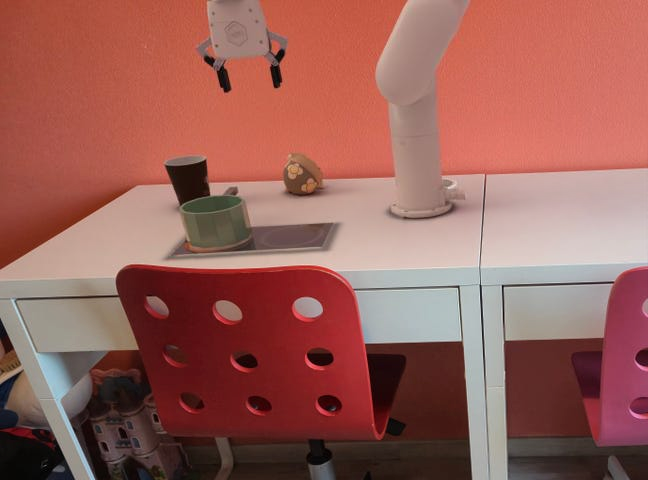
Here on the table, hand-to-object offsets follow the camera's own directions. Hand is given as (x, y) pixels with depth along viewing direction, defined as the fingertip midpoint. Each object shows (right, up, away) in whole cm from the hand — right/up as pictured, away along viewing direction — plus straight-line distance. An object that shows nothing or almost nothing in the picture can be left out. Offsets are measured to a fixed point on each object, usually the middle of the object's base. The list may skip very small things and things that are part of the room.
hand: (252, 89), depth 137 cm
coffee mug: (-18, -18, +21) cm, 33 cm away
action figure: (+4, -14, +26) cm, 30 cm away
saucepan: (-5, -28, +1) cm, 28 cm away
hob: (+1, -30, -3) cm, 30 cm away
